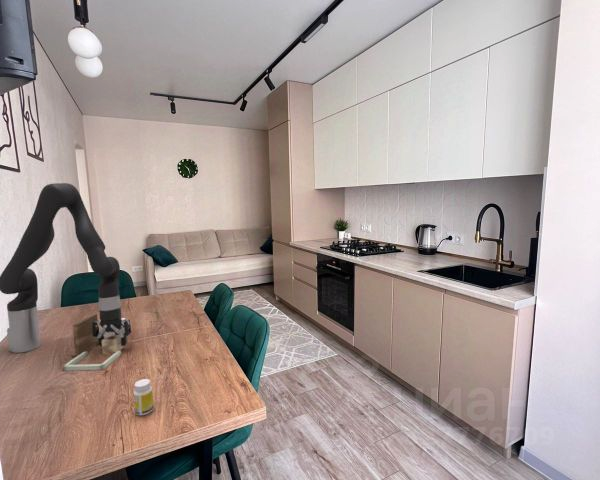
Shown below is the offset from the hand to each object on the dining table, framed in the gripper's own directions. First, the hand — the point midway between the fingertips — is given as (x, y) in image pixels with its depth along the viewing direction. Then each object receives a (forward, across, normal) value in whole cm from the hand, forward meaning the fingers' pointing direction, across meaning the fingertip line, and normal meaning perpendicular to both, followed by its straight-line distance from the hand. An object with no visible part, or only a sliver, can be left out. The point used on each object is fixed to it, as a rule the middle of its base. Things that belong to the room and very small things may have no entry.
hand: (113, 345), depth 132 cm
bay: (+2, -2, -9) cm, 10 cm away
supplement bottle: (+3, +31, -41) cm, 51 cm away
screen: (+2, -11, +1) cm, 11 cm away
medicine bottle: (+2, -8, +16) cm, 18 cm away
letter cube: (+2, 0, 0) cm, 2 cm away
